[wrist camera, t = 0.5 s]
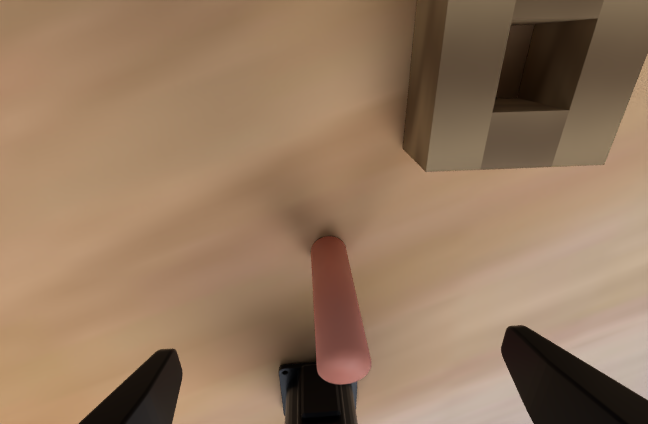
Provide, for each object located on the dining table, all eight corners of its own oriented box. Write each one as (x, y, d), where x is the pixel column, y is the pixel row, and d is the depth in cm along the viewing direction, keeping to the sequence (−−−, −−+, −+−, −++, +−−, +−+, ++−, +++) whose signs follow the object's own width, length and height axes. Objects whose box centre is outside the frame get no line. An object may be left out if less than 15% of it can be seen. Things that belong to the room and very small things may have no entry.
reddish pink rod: (345, 264, 23) (370, 382, 15) (311, 266, 23) (317, 385, 15) (346, 235, 22) (372, 345, 14) (310, 237, 22) (316, 349, 14)
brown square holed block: (549, 143, 20) (604, 164, 16) (402, 148, 19) (426, 171, 16) (604, -42, 16) (694, -68, 12) (420, -40, 15) (457, -67, 12)
